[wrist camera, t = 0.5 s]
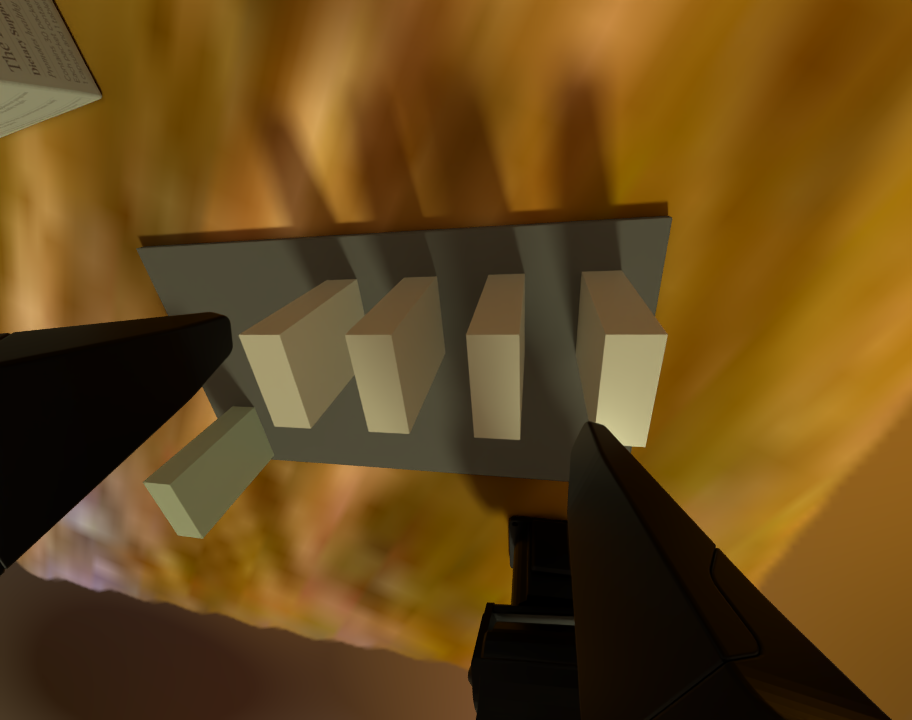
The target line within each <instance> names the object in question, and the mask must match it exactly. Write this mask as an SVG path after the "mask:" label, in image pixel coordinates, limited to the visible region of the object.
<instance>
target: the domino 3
mask: <svg viewBox="0 0 912 720" xmlns="http://www.w3.org/2000/svg"><path fill="white" fill-rule="evenodd" d="M345 338H346V342H347V346H348V350H349V354H350V358H351V362H352V366H353V370H354V374H355V378H356V382H357V386H358V390H359V394H360V398H361V402H362V406H363V411H364V415H365V419H366V423H367V427H368V431H369V432H383V433H401V434H410V432H411V429H412V427H413V425H414V423H415V420H416V418H417V416H418V414H419V411H420V409H421V407H422V405H423V402H424V400H425V398H426V396H427V393H428V391H429V389H430V387H431V384H432V382H433V380H434V378H435V375H436V373H437V371H438V369H439V366H440V364H441V362H442V360H443V357H444V355H445V344H444V335H443V326H442V317H441V308H440V299H439V290H438V281H437V276H435V277H405V278H403V279H402V280H401V281H400V282H399V283H398V284H397V285H396V286H395V287H394V288H393V289H392V290H391V291H390V292H389V293H388V294H386V295H385V296H384V297H383V298H382V299H381V300H380V301H379V302H378V303H377V304H376V305H375V306H374V307H373V308H372V309H371V310H370V311H369V312H368V313H367V314H366V315H365V316H364V317H363V318H362V319H361V320H360V321H359V322H357V323H356V324H355V325H354V326H353V327H352V328H351V329H350V330H349V331H348V332H347V333H346V334H345Z"/></svg>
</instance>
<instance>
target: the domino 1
mask: <svg viewBox="0 0 912 720" xmlns="http://www.w3.org/2000/svg"><path fill="white" fill-rule="evenodd" d="M273 456H274V453H273V451H272V449H271V446H270V444H269V441H268V439H267V436H266V434H265V432H264V429H263V427H262V424H261V422H260V420H259V417H258V415H257V412H256V410H255V408H254V407H236V406H232V407H231V408H230V409H229V410H228V411H227V412H225V413H224V414H223V415H222V416H221V417H219V418H218V419H217V420H216V421H215V422H213V423H212V424H211V425H210V426H209V427H208V428H206V429H205V430H204V431H203V432H202V433H200V434H199V435H198V436H197V437H196V438H195V439H193V440H192V441H191V442H190V443H189V444H187V445H186V446H185V447H184V448H183V449H182V450H180V451H179V452H178V453H177V454H176V455H174V456H173V457H172V458H171V459H170V460H169V461H167V462H166V463H165V464H164V465H163V466H161V467H160V468H159V469H158V470H157V471H155V472H154V473H153V474H152V475H151V476H150V477H148V478H147V479H146V480H145V481H144V482H143V483H144V485H145V486H146V488H147V489H148V491H149V492H150V494H151V495H152V497H153V498H154V500H155V501H156V503H157V504H158V506H159V507H160V509H161V510H162V512H163V513H164V515H165V516H166V518H167V519H168V521H169V522H170V524H171V526H172V527H173V529H174V530H175V532H176V533H177V535H179V536H187V537H195V538H202V539H203V538H204V537H205V535H206V534H207V533H208V532H209V531H210V530H211V528H212V527H213V526H214V525H215V524H216V523H217V521H218V520H219V519H220V518H221V517H222V516H223V514H224V513H225V512H226V511H227V510H228V509H229V507H230V506H231V505H232V504H233V503H234V502H235V500H236V499H237V498H238V497H239V496H240V495H241V493H242V492H243V491H244V490H245V489H246V488H247V486H248V485H249V484H250V483H251V482H252V481H253V479H254V478H255V477H256V476H257V475H258V474H259V472H260V471H261V470H262V469H263V468H264V467H265V465H266V464H267V463H268V462H269V461H270V460H271V458H272V457H273Z"/></svg>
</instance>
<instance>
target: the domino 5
mask: <svg viewBox="0 0 912 720" xmlns="http://www.w3.org/2000/svg"><path fill="white" fill-rule="evenodd" d="M667 335H668V334H667V333H666V332H665V330H664V329H663V327H662V326H661V325H660V323H659V322H658V320H657V319H656V318H655V316H654V315H653V313H652V312H651V311H650V309H649V308H648V306H647V305H646V304H645V302H644V301H643V300H642V298H641V297H640V295H639V294H638V293H637V291H636V290H635V288H634V287H633V286H632V284H631V283H630V281H629V280H628V279H627V277H626V276H625V274H624V273H623V272H622V270H618V271H587V272H582V275H581V288H580V302H579V315H578V329H577V342H576V359H577V364H578V369H579V374H580V379H581V384H582V389H583V394H584V399H585V405H586V410H587V415H588V420H589V421H592V422H595V423H599V424H602V425H604V426H606V427H607V428H608V430H609V431H610V432H611V433H612V434H613V435H614V436H615V437H616V438H617V439H618V440H619V441H620V442H621V444H622V445H623V446H638V447H645V446H646V441H647V436H648V431H649V426H650V421H651V416H652V411H653V406H654V401H655V396H656V391H657V386H658V381H659V376H660V371H661V365H662V360H663V355H664V350H665V345H666V340H667Z"/></svg>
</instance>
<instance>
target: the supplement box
mask: <svg viewBox="0 0 912 720" xmlns="http://www.w3.org/2000/svg"><path fill="white" fill-rule="evenodd" d="M101 98H102V95H101V93H100V91H99V89H98V88H97V86H96V84H95V82H94V80H93V78H92V76H91V74H90V72H89V70H88V68H87V66H86V65H85V63H84V61H83V59H82V57H81V55H80V53H79V51H78V49H77V47H76V45H75V43H74V41H73V39H72V37H71V35H70V34H69V32H68V30H67V28H66V26H65V24H64V22H63V20H62V18H61V16H60V14H59V12H58V11H57V9H56V7H55V5H54V3H53V1H52V0H0V138H1V137H4V136H6V135H9V134H11V133H14V132H16V131H19V130H22V129H24V128H27V127H29V126H32V125H34V124H37V123H39V122H42V121H44V120H47V119H50V118H52V117H55V116H58V115H60V114H63V113H65V112H68V111H71V110H73V109H76V108H78V107H81V106H83V105H86V104H89V103H91V102H94V101H96V100H99V99H101Z"/></svg>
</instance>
